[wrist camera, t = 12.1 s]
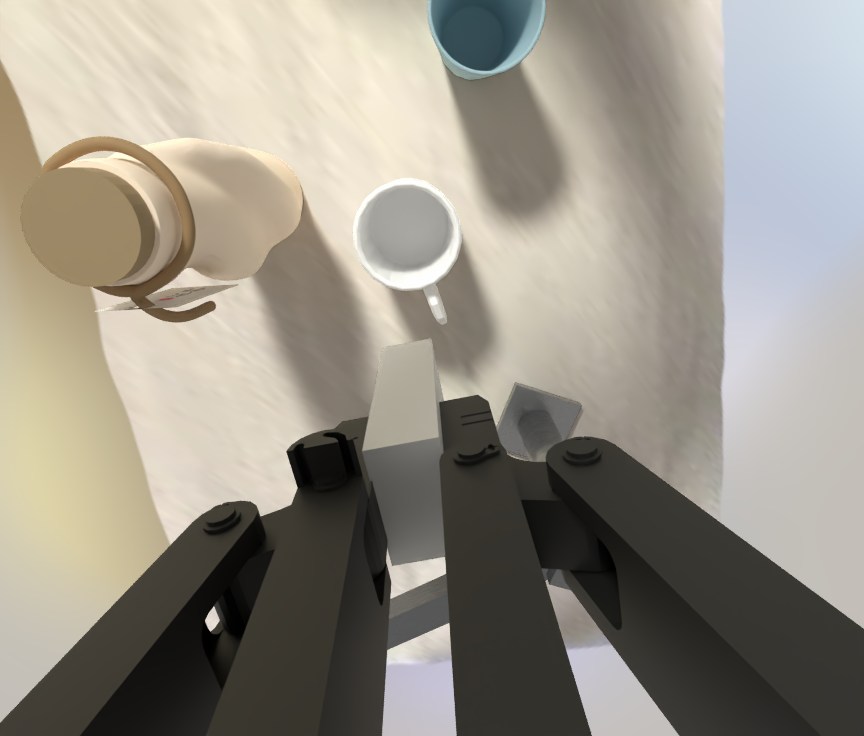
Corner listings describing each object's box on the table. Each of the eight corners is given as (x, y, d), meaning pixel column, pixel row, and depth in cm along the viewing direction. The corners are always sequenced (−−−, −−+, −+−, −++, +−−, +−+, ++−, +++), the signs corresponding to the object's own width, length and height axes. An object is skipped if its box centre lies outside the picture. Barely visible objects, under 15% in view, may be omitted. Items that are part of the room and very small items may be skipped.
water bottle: (335, 238, 51) (248, 311, 25) (248, 277, 52) (74, 387, 26) (282, 125, 48) (115, 71, 22) (189, 169, 49) (-77, 169, 23)
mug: (401, 320, 54) (398, 352, 45) (350, 198, 50) (334, 205, 41) (480, 290, 53) (494, 315, 44) (434, 163, 49) (438, 162, 40)
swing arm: (545, 526, 41) (552, 545, 39) (560, 552, 42) (567, 573, 40) (324, 626, 43) (319, 649, 41) (341, 649, 44) (338, 673, 42)
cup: (451, 112, 48) (460, 96, 38) (408, 20, 46) (406, -22, 36) (532, 66, 47) (563, 38, 37) (493, -30, 45) (515, -88, 35)
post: (515, 382, 56) (572, 506, 36) (579, 402, 57) (671, 535, 36) (490, 442, 58) (529, 592, 38) (552, 461, 59) (624, 617, 39)
